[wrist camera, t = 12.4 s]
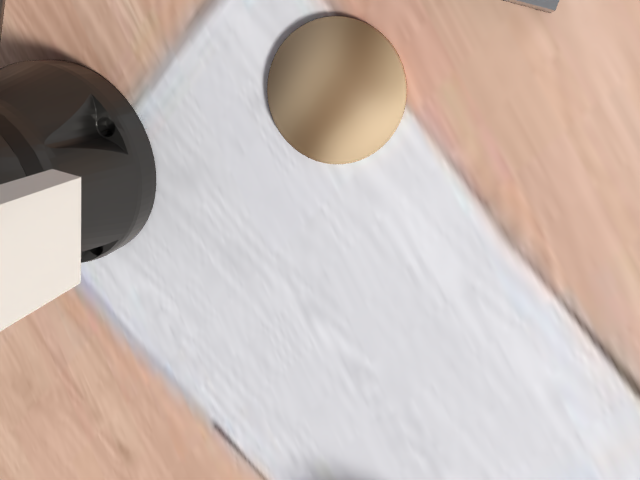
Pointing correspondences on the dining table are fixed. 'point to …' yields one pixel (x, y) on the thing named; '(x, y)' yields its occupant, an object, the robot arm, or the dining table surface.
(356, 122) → the cork coaster
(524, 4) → the socket dish
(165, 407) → the dining table surface
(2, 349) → the dining table surface
